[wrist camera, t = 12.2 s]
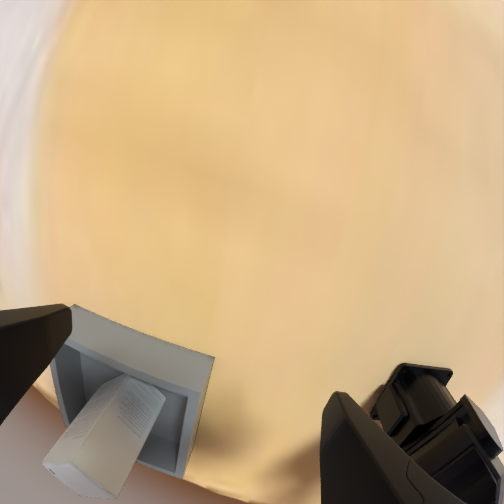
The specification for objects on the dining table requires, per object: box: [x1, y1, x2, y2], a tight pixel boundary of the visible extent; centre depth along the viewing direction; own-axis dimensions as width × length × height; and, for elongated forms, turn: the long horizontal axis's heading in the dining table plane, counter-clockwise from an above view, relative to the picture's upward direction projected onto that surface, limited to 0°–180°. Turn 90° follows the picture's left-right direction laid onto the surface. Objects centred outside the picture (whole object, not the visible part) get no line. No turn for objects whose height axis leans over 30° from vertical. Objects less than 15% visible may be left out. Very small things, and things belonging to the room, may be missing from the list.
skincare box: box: [42, 373, 166, 499], centre depth 17 cm, size 6×4×12 cm
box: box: [50, 304, 215, 479], centre depth 21 cm, size 14×14×4 cm
